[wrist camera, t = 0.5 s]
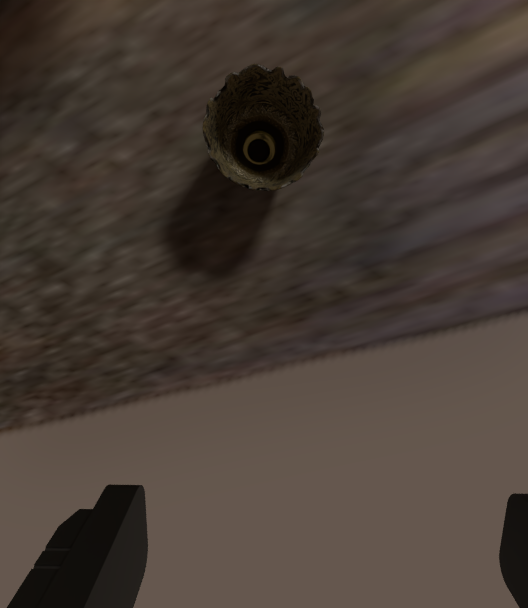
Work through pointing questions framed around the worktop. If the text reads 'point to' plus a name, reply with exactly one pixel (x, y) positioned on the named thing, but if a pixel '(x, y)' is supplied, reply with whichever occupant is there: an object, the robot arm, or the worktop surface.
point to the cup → (263, 127)
